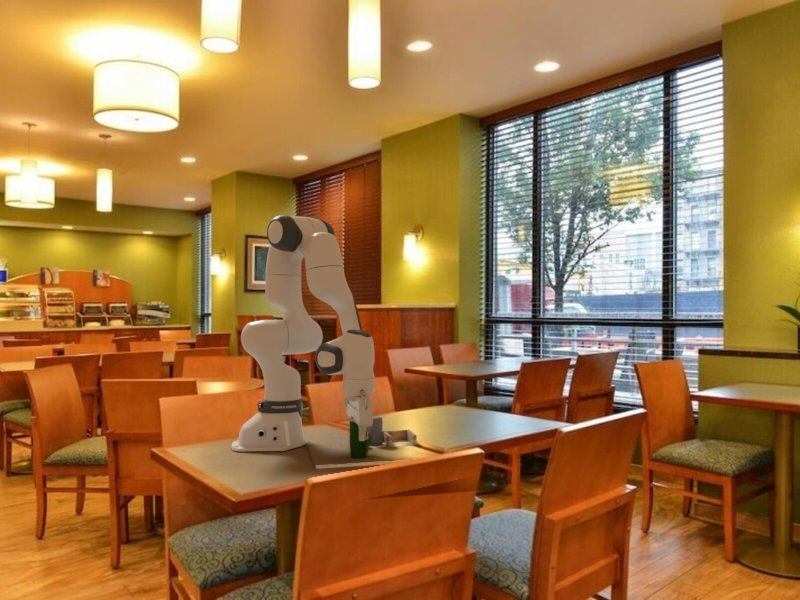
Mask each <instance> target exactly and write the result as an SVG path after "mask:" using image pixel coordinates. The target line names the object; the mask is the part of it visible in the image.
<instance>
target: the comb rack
mask: <svg viewBox="0 0 800 600" xmlns="http://www.w3.org/2000/svg"><path fill="white" fill-rule="evenodd" d="M382 432H383V444H382V445H380V446H369V449H379V448H397V447H413V446H417V441H418V440H417V437H418V435H417V434H416V433H414V432H413V431H412V430H410V429H401V430H400V429H397V430H396V429H394V430H382Z"/></svg>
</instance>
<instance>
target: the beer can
mask: <svg viewBox="0 0 800 600" xmlns="http://www.w3.org/2000/svg"><path fill="white" fill-rule="evenodd" d="M348 426H349V429H348V430H349V431H348V432H349V434H348V435H349V437H348V438H349V440H348V441H349V444H348V445H349V458H350V459H356V460H358V459H359V460H361V459H362V460H363V459H367V458H369V456H370V455H369V454H370V453H369V449H370V448H369V427H367V431H366V440H365V441H359V440H358V434H359V428H358V425H357V424H356V423H355V422H354V418H353V417H352V416H351V417H350V418H349V422H348Z"/></svg>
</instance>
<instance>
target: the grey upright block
mask: <svg viewBox="0 0 800 600" xmlns="http://www.w3.org/2000/svg"><path fill="white" fill-rule="evenodd" d="M382 431H383V417H382V416H373V424H372V426H371V427H369V446H380V445H382V444H383V432H382Z"/></svg>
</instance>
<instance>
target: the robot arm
mask: <svg viewBox="0 0 800 600" xmlns="http://www.w3.org/2000/svg"><path fill="white" fill-rule="evenodd" d="M266 236H267V240H268V243H269V245H270V246H268V251H267V257H266V263H265V286H264V287H265V290H264V291H265V293H264V296H265V299H266V302H267V303H268V304H269V305H271V306H272V307H274V308H275V309H278V310H279V311H280V312H281V315H282V319H260V320H256V321H250V322H247V323H246V324H245V325H244V326H243V328H242V331H241V334H240V342H241V346H242V347H243V349H244V351H245V352H246V353H248V354H249V355H250V356H251V357H252V358H253V359H255V361H256V362H257V363H258V365H259V367H260V369H261V371H262V374H263V383H264V399H257V401H256V405H257V413H255V414H254V415H252V417H250V419H248V420H247V421H245V422H244V423H243V424H242V426H241V427H240V430H239V433H238V439H236V440H234V441H233V442H232V443H231V447H230V448H231V449H232V451H234V452H284V451H285V452H286V451H288V450H292V449H296V448H300V447H303V446H304V445H306V444H307V443H306V438H305V435H304V434H305V433H304V431H303V430H304V427H303V423H302V422H303V421H302V417H303V398H302V397H301V395H302V394H301V393H302V392H301V390H302V389H301V387H302V386H301V385H302V384H301V381H302V380H301V379H302V377H301V374H300V373H299V371H298V370H297V369H295V368H294V367H292V366H291V365H288V364H286V363H285V361H284V358H283V355H284V356H285V355H304V354H307V353H312V352H315V354H314V355H315V356H314V358H315V359H314V360H315V366H316V367H317V369H318V371H319V372H321V373H322V374H323V375H328V376H336V375H342V376H343V377H342V394H343V396H344V405H345V414H346V416H347V417H348V418H349V419H350V417H351V416H352V417H353V418H354V422H355V423H356V424H357V425H358V428H359V434H358V440H359V441H365V440H366V431H367V427H371V426H372V424H373V417H374V416H373V415H374V414H373V413H374V412H373V400H372V399H371V396H373V395H375V390H376V389H375V384H376V382H375V379H376V377H375V373H374V365H375V357H376V356H375V344H374V343H375V342H374V339H373V336H372V334H371V333H370V332H368V331H365V330H363V327H362V323H361V319H360V314H359V309H358V307H357V302H356V299H355V296H354V293H353V292H352V291H351V289H350V287H349V284H348V282H347V278H346V274H345V271H344V263H343V262H344V261H343V257H342V253H341V249H340V245H339V242H338V240H337V239H338V238H336V236H335V230H334V228H333V226H332V224H330V223H329V222H328V221H326V220H323V219H320V218H319V219H316V218H314V217H310V216H297V215H295V216H294V215H287V214H284V215H277V216H274V217H273V218H272V219H271V220H270V221H269V223H268V225H267V229H266ZM303 259H304V264H305V265H304V266H305V274H306V276H305V277H306V283H307V286H308V289H309V292H310V293H311V294H312V295H313V296H314V297H315V298H316V299H318V300H320V301H321V302H324V303H325V304H328V305H329V306H330V307H331V308H332V309H333V310H334V311H335V312H336V314H337V316H338V319H339V324H340V328H341V332H342V335H340V336H339V337H337V338H334V339H332V340H329V341H326V342H323V338H324V335H323V330H322V328H321V326H320V324H319V323H318V322H317V321H315V320H314V319H313V318H312V317H311V315H309V313H308V312H307V310H306V308H305V307H306V306H305V305H304V302H303V293H302V262H303Z"/></svg>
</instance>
